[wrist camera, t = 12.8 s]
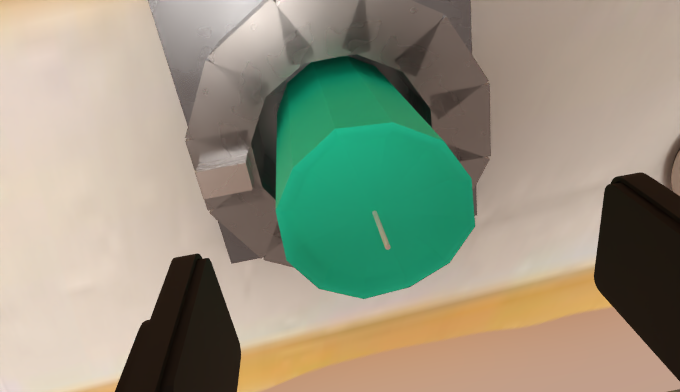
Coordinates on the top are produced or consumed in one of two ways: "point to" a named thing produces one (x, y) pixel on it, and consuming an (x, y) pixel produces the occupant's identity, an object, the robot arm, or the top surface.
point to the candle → (364, 183)
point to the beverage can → (676, 175)
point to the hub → (287, 61)
